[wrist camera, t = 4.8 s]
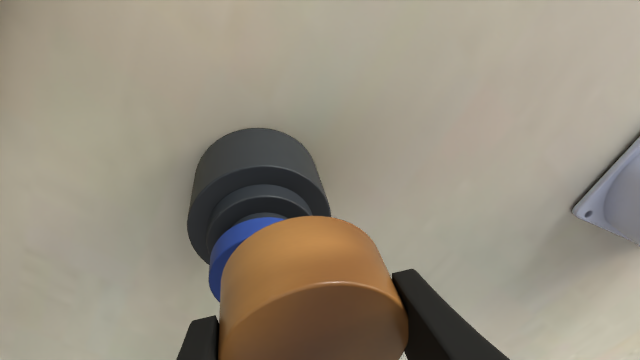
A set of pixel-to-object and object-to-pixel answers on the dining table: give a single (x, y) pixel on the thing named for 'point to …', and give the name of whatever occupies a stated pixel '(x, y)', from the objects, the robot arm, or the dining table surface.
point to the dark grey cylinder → (249, 193)
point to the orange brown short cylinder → (310, 296)
